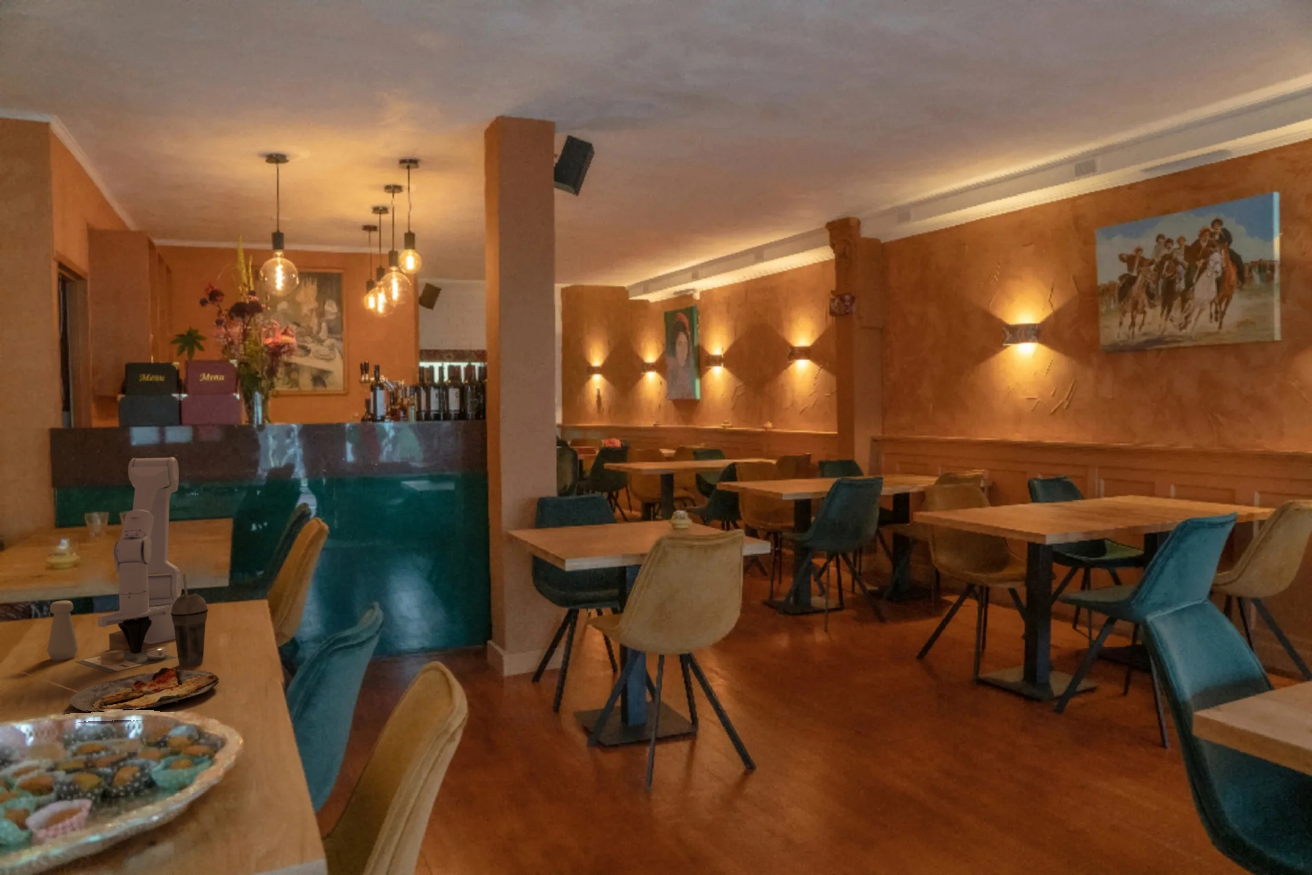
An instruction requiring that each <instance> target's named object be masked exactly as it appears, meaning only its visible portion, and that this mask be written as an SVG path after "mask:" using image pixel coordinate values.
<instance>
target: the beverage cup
mask: <svg viewBox="0 0 1312 875" xmlns="http://www.w3.org/2000/svg"><path fill="white" fill-rule="evenodd" d="M186 576H187V575H186V573H182V579H183V580H182V583H183V589H184V594H181V595H180V597H178V598H177V599H176V600H175V602H174V604H173V606H172V612H171V615H172V621H173V624H174V630H175V638H176V639H175V644H176V654H177V659H178V664H179V667H182V668H186V667H187V668H188V667H189V668H190V667H195V666H200V665H203V661H204V653H205V652H204V651H205V639H206V638H205V635H206V621H207V618H208V611H209V608H208V604H207V602H206V600H205V599H204V597H203V596H201V595H200V594H198V593H195V592H188V585H187V577H186Z"/></svg>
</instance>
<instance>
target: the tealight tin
mask: <svg viewBox="0 0 1312 875" xmlns="http://www.w3.org/2000/svg"><path fill="white" fill-rule="evenodd" d="M146 654H147V661H160V660H164V659H166V658H167V655H168V648H167V647H164V646H155V647H150V648H148V649H147V651H146ZM164 661H165V660H164ZM160 662H161V661H160Z"/></svg>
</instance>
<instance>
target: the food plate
mask: <svg viewBox="0 0 1312 875" xmlns="http://www.w3.org/2000/svg"><path fill="white" fill-rule="evenodd" d="M219 680H220V679H219V677H218V676H217V675H216V674H214V673H213V672H211V671H207V670H199V669H198V670H197V669H178V668H177V666H173V667H171V668H168V667H161V668H160V669H159V671H156V672H149V673H145V672H143V673H140V674H135V675H130V676H126V677H121V678H117V679H113V680H109V681H104V682H102V683H101V682H100V683H96V684H94V685H92V686H87V687H86V688H84V689H82V690H80V691H77V693H75V694H74V695H72V696H70V698H68V704H69V705H70V706H71V707H73V708H75V709H77V710H81V711H83V712H87V711H86V710H103V709H136V708H143V709H152V708H158V707H160V706H162V705H166V704H167V705H168V704H170V703H171V704H172V703H173V702H175V703H179V701H180V700H183V699H186V698H191V697H195V696H197V695H201V694H204V693H207V692H209V691H211V690H212V689H214V687H216V686H217V685H218V684H220V682H219ZM179 685H181V686H179ZM129 689H131V691H132V692H129V691H126V692H122V693H117V692H121V691H122V690H124V691H125V690H129ZM114 693H117V694H115V696H113V695H111V694H114ZM150 694H151V695H150ZM108 695H110V696H108ZM144 695H146V696H144ZM98 700H101V701H98ZM97 701H98V704H99V705H100V706H106V707H104V708H99V707H100V706H99V705H98V706H99V707H96V706H95V707H96V708H95V707H94V705H93V704H95V702H97ZM124 702H126V703H124ZM113 704H117V705H113ZM107 705H109V706H107Z"/></svg>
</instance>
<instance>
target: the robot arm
mask: <svg viewBox="0 0 1312 875" xmlns="http://www.w3.org/2000/svg"><path fill="white" fill-rule="evenodd" d="M127 469H128V470H127V471H128V480H129V481H130V482H131V485H132V487H133V488H134V496H133V504H132V510H130V511H129V512H127V513H126V514H125V519H124V523H123V527H122V530H121V531H122V532H121V535H120V539H119V541H116V542H115V543H114V545H113V555H112V556H113V561H114V564H115V571H116V572H115V573H117V574H118V600H119V602H118V604H119V612H116V613H112V614H108V615H104V616H99V617H97V626H98V627H99V628H106V627H108V626H112V625H118V626H117V627H118V628H120V629H119V630H120V631H121V630H122V632H123V633H124V635H125V637H126V639H127V642H128V645H129V648H130V649H129V650H130V652H131V653H133V654H137V653H141V650H142V648H143V644H147V645H152V644H157V643H163V642H167V641H172V640H176V638H175V630H174V624H173V621H172V615H171V612H172V606H173V604H174V602H175V600H176V599H177V598H178V597H180V596H181V595H182V589H183V588H182V587H183V584H182V583H183V581H182V578H181V571H180V569H179V567H178V566H177V565H175V564H173V563H171V562H170V561H169V529H170V526H169V524H170V521H169V519H170V500H171V494H173V493H175V492H177V491H178V490H179V488H178V487H179V478H180V476H179V475H180V474H179V472H180V471H179V469H180V468H179V463H178V460H177V459H176V457H174V456H170V457H151V458H150V457H145V458H137V457H132V458H131V460H130V461H129V463H128V467H127ZM159 574H160V575H159ZM163 574H164V575H163ZM165 574H166V575H165Z"/></svg>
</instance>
